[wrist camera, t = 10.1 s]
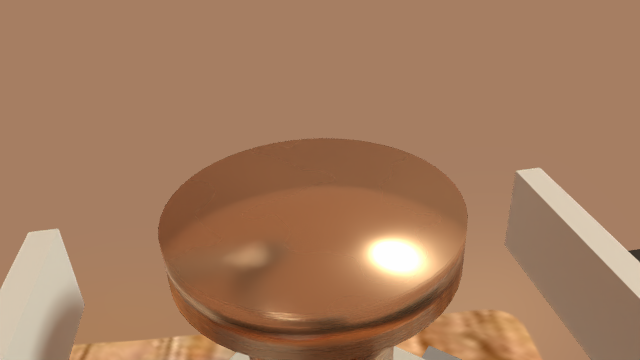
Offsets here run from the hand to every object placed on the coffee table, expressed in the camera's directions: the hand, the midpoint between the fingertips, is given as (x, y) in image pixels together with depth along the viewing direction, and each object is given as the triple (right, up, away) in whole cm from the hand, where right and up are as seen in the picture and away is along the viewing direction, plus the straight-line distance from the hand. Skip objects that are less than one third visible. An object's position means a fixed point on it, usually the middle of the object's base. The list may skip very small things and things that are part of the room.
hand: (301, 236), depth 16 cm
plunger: (+1, -18, +7) cm, 20 cm away
